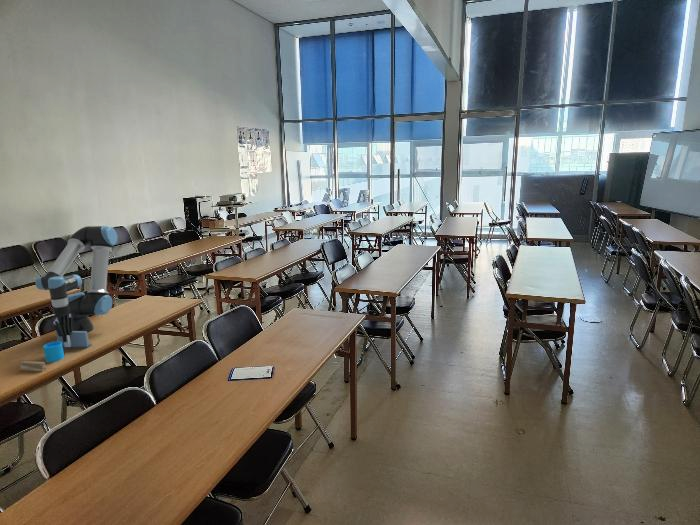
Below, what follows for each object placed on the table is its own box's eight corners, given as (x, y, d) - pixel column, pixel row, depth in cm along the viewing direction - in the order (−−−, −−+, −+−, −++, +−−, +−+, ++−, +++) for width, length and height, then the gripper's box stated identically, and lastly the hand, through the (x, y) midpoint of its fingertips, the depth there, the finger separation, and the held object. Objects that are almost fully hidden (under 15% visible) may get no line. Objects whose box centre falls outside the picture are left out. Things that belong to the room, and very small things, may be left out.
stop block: (24, 368, 225) (23, 361, 224) (46, 369, 223) (44, 361, 222) (21, 370, 223) (19, 362, 222) (42, 371, 221) (41, 363, 221)
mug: (62, 360, 233) (59, 345, 231) (44, 363, 230) (41, 348, 228) (67, 351, 244) (64, 337, 242) (50, 354, 241) (47, 340, 239)
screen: (63, 344, 254) (60, 329, 252) (92, 345, 252) (89, 330, 250) (58, 346, 251) (55, 331, 249) (87, 347, 248) (84, 332, 246)
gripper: (63, 301, 247) (70, 341, 252) (44, 309, 234) (52, 351, 240) (75, 301, 246) (82, 342, 251) (57, 309, 233) (65, 351, 238)
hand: (68, 346), depth 245 cm, fingers closed
